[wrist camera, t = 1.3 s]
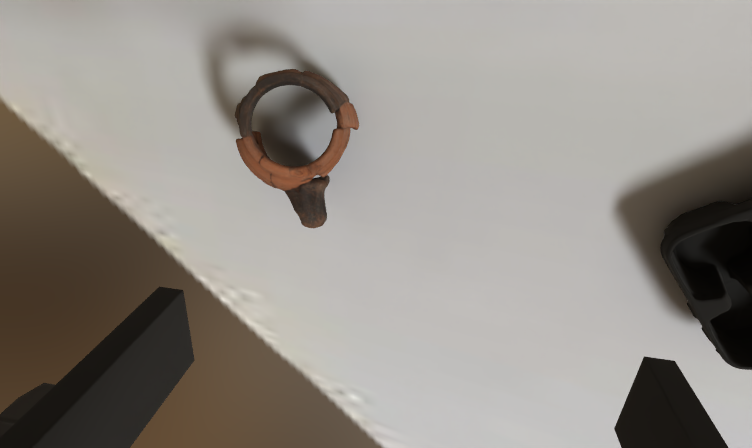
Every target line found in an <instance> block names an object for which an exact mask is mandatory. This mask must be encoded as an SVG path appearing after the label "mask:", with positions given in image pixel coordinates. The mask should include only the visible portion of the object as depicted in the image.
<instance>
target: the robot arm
mask: <svg viewBox="0 0 752 448" xmlns="http://www.w3.org/2000/svg"><path fill="white" fill-rule="evenodd" d="M193 361H194V355H193V348H192V342H191V336H190V330H189V324H188V318H187V311H186V305H185V299H184V293H183V290H178V289H171V288H164V287H159V288H158V289H157V290H156V291H155V292H153V293H152V294H151V295H150V296H149V297H148V298H147V299H146V300H145V301H144V302H143V303H142V304H141V305H140V306H139V307H138V308H136V309H135V310H134V311H133V312H132V313H131V314H130V315H129V316H128V317H127V318H126V319H125V320H124V321H123V322H122V323H121V324H120V325H119V326H117V327H116V328H115V329H114V330H113V331H112V332H111V333H110V334H109V335H108V336H107V337H106V338H105V339H104V340H103V341H102V342H101V343H100V344H99V345H97V346H96V347H95V348H94V349H93V350H92V351H91V352H90V353H89V354H88V355H87V356H86V357H85V358H84V359H83V360H82V361H80V362H79V363H78V364H77V365H76V366H75V367H74V368H73V369H72V370H71V371H70V372H69V373H68V374H67V375H66V376H65V377H64V378H63V379H62V380H60V381H59V382H58V383H57V384H56V385H52V384H47V383H43V384H41V385H40V386H38V387H36V388H34V389H33V390H31V391H29V392H27V393H26V394H24V395H22V396H21V397H19V398H18V399H16V400H15V401H14V402H13V403H12V404H11V405H10V406H9V407H8V408H6V409H5V410H4V411H3V412H2V413H1V414H0V448H130V447H131V445H132V444H133V443H134V441H135V440H136V439H137V437H138V436H139V435H140V433H141V432H142V430H143V429H144V428H145V426H146V425H147V424H148V422H149V421H150V420H151V418H152V417H153V415H154V414H155V413H156V411H157V410H158V409H159V407H160V406H161V405H162V403H163V402H164V401H165V399H166V398H167V396H168V395H169V393H171V391H172V390H173V388H174V387H175V385H176V384H177V383H178V382H179V380H180V379H181V378H182V376H183V375H184V373H185V372H186V371H187V370H188V368H189V367H190V365H191V364H192V363H193ZM614 429H615V432H616V434H617V437H618V440H619V442H620V445H621V447H622V448H728V446H727V445H726V443H725V441H724V440H723V438H722V437H721V435H720V433H719V432H718V430H717V428H716V427H715V425H714V424H713V422H712V420H711V419H710V417H709V416H708V414H707V412H706V411H705V409H704V408H703V406H702V404H701V403H700V401H699V399H698V398H697V396H696V395H695V393H694V391H693V390H692V388H691V387H690V385H689V383H688V382H687V380H686V378H685V377H684V375H683V374H682V372H681V370H680V369H679V367H678V366H677V364H676V362H675V361H671V360H664V359H657V358H650V357H644V358H643V361H642V363H641V365H640V368H639V370H638V373H637V375H636V378H635V380H634V382H633V385H632V387H631V390H630V392H629V394H628V397H627V399H626V402H625V404H624V407H623V409H622V411H621V414H620V416H619V419H618V421H617V423H616V426H615V428H614Z"/></svg>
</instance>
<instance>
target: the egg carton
mask: <svg viewBox="0 0 752 448" xmlns="http://www.w3.org/2000/svg"><path fill="white" fill-rule="evenodd" d="M664 236H665V237H664V238H663V240H662V243H661V254H662V257H663V259H664V261H665V263H666V264H667V266H668V268H669V269H670V271H671V273H672V274H673V276H674V278H675V279H676V281H677V283H678V284H679V286H680V288H681V289H682V291H683V293H684V295H685V296H686V298H687V300H688V303H687V305H688V307H689V309H690V310H691V312H692V314H693V316H694V317H695V318H697V319H698V320H699V321H700V323H701V325H702V330H703V332H704V333H705V335H706V336H707V338H708V339H709V340H710V341H711V342H712V344H713V345H714V346H715V348H716V351H717V352H718V353H719V354H720V355H721V357H722V358H723V359H724V361H725V362H727V363H728V364H729V365H731V366H733V367H735V368H739V369H747V370H752V200H748V201H745V202H742V203H739V204H737V205H735V204H732V203H729V202H714V203H711V204H709V205H707V206H704V207H702V208H699V209H696V210H694V211H690V212H687V213H685V214H682V215H680V216H679V217H678V218H677V219H675V220H673V221H672V222H671V224H670V225H669V226H668V227H667V228H666V229H665V232H664Z"/></svg>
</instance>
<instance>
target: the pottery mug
mask: <svg viewBox="0 0 752 448" xmlns="http://www.w3.org/2000/svg"><path fill="white" fill-rule="evenodd" d="M284 85H296V86H301V87H304V88H306V89H309V90H311V91H312V92H314V93H316V94H317V95H318V96H319V97H320V98H321V99H322V100H323V101H324V102H325V104H326V105H327V107H328V109H329V111H330V112H331V113H334V112H335V115H336V119H337V129H334V130H333V133H332V138H331V141H330V143H329V146H328V148H327V149H326V151H325V152H324V153H323V154H322V155H321V156H320V157H319V158H318V159H316V160H315V161H313V162H311V163H309V164H308V165H303V166H285V165H281V164H279V163H276V162H274V161H273V160H271V159H270V158H269V157H268V156H267V154H266V151H265V149H264V146H263V143H262V139H261V133H260V132H258V131H252V129H251V119H252V114H253V111H254V108H255V106H256V104H257V102H258V101H259V99H260V98H261V97H262V96H263V95H264V94H265V93H267V92H268V91H270V90H272V89H274V88H276V87H279V86H284ZM235 118H236V119H237V122H238V125H239V129H240V134H241V136H242V138H241V139H236V144H237V147H238V151H239V153H240V156H241V157H242V159H243V161H244V163H245V164H246V166H247V167H248V168H249V169H250V170H251V171H252V172H253V173H254V174H255V175H256V176H257V177H258V178H259V179H261V180H262V181H263V182H265V183H266V184H268V185H270V186H272V187H274V188H278V189H281V190H283V191H285V193H286V194H287V195H288V197H289V199H290V201H291V203H292V205H293V208H294V210H295V212H296V213H297V214H298V216H299V218H300V220H301V223H302V225H303V226H305V227H308V228H317V227H320V226H322V225H323V224H324V222H325V221H326V219H327V213H326V207H325V200H324V191H325V188H326V187H327V186H328V183H329V182H330V181H329V176H328V175H327V174H328V173H329V172H330V171H331V170H332V169H333V167H334V166H335V165H336V164H337V163H338V161H339V160H340V158H341V156H342V154H343V152H344V150H345V148H346V147H347V144H348V141H349V136H350V128H353V129H355V130H357V129H358V127H359V122H358V117H357V113H356V111H355V109H354V106H353V104H351V103H349V99H348V97H347V95H346V94H345V93H343V92H342V91H341V90H340V89H339V88H338V87H337V86H335V85H334V84H333V83H331V82H330V81H329V80H327V79H325V78H324V77H322V76H320V75H318V74H315V73H312V72H310V71H304V72H303V73H302V72H299V71H298V70H296V69H288V70H282V71H278V72H273V73H269V74H265V75H262V76H260V77H259V79H258V80H257V82H256V85H255V86H254V87H253V88H252V89H251V90H250V91H249V93H248V94H247V95H246V96H245V97H244V98H243V99H242V101H241V103H239V104H238V105H237V108H236V112H235ZM316 175H320V176H321V177H318V178H313V177H314V176H316ZM312 178H313V179H312Z"/></svg>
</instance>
